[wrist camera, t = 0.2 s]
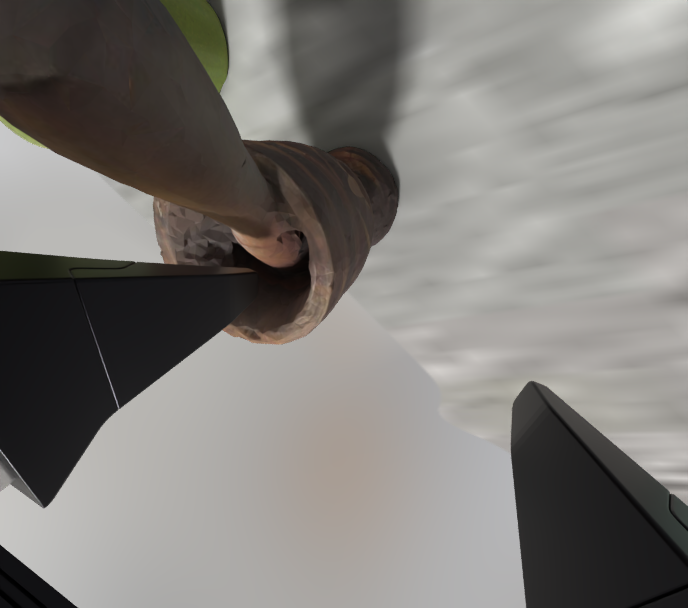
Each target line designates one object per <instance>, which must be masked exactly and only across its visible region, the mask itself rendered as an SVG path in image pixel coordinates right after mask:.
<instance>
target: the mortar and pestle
mask: <svg viewBox="0 0 688 608" xmlns="http://www.w3.org/2000/svg"><path fill="white" fill-rule="evenodd" d="M0 116H1V117H2V118H4V119H5V120H6V121H7V122H9V123H10V124H11V125H12V126H14V127H16V128H17V129H19V130H20V131H22V132H23V133H25V134H27V135H28V136H30V137H31V138H33V139H34V140H36V141H38V142H39V143H41V144H42V145H44V146H46V147H47V148H49V149H50V150H52V151H54V152H55V153H57V154H59V155H61V156H63V157H66V158H68V159H70V160H72V161H74V162H77V163H79V164H81V165H83V166H85V167H87V168H90V169H92V170H94V171H96V172H98V173H101V174H103V175H105V176H107V177H109V178H111V179H113V180H115V181H117V182H120V183H122V184H125V185H128V186H131V187H133V188H135V189H138V190H140V191H142V192H144V193H146V194H149V195H152V196H154V201H153V210H154V223H155V230H156V236H157V241H158V245H159V246H160V249H161V255H162V257H163V260H164V263H165V264H180V265H198V266H215V267H233V268H248V269H251V270H253V271H256V272H257V273H258V275H259V281H258V295H257V297H256V299H255V300H254V301H253V302H252V303H251V304H250V305H249V306H248V307H247V308H246V309H245V310H244V311H243V312H242V313H241V314H240V315H239V316H238V317H237V318H236V319H235V320H234V321H232V322H231V323H230V324H229V325H228V326H227V327H225V328H224V329H223V331H225V332H227V333H228V334H230V335H231V336H233V337H241V338H243V339H246V340H249V341H250V342H252V343H261V344H285V343H288V342H292V341H294V340H297V339H299V338H302V337H304V336H306V335H307V334H309V333H310V332H311V331H312V330H313V329H314V328H315V327H316V326H318V325H319V324H320V323H321V322H322V321H323V320H324V319H325V318H326V317H327V315H328V314H329V313H330V312H331V311H332V309H333V308H334V306H335V305H336V304H337V302H338V301H339V300H340V298H341V297H342V295H343V294H344V293H345V292H346V291H347V290H348V289H349V287H350V286H351V285H352V284H353V283H354V281H355V280H356V278H357V277H358V275H359V273H360V272H361V270H362V268H363V266H364V264H365V261H366V259H367V256H368V254H369V251H370V248H371V246H373V245H375V244H377V243H378V242H379V241H380V240H381V239H382V238H383V237H384V236H385V235H386V234H387V233H388V232H389V230H390V228H391V226H392V224H393V221H394V219H395V216H396V213H397V207H398V203H397V202H398V191H397V187H396V185H395V182H394V179H393V177H392V175H391V174H390V172H389V170H388V169H387V168H386V166H385V165H384V164H382V163H381V162H380V161H379V160H378V159H377V158H376V157H375V156H373V155H372V154H370V153H369V152H367V151H365V150H362V149H359V148H355V147H343V148H338V149H335V150H332V151H330V152H328V153H327V152H325V151H323V150H321V149H318V148H316V147H312V146H308V145H305V144H301V143H296V142H291V141H270V140H268V141H252V140H242V139H241V137H240V134H239V131H238V129H237V127H236V125H235V123H234V121H233V118H232V116H231V114H230V112H229V110H228V108H227V106H226V104H225V102H224V100H223V99H222V97H221V95H220V94H219V92H218V90H217V88H216V87H215V85H214V83H213V82H212V80H211V78H210V76H209V75H208V73H207V71H206V70H205V68H204V67H203V65H202V63H201V62H200V60H199V58H198V57H197V55H196V54H195V52H194V50H193V49H192V47H191V46H190V44H189V42H188V41H187V39H186V37H185V36H184V34H183V33H182V31H181V30H180V28H179V27H178V25H177V24H176V22H175V21H174V19H173V18H172V16H171V15H170V13H169V12H168V10H167V9H166V7H165V6H164V5H163V4H162V3H161V1H160V0H0Z"/></svg>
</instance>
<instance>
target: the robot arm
mask: <svg viewBox="0 0 688 608" xmlns="http://www.w3.org/2000/svg"><path fill="white" fill-rule="evenodd" d="M258 281H259V275H258V273H257V272H256V271H253V270H251V269H248V268H233V267H215V266H198V265H180V264H161V263H144V262H137V263H135V262H133V261H117V260H102V259H89V258H77V257H65V256H53V255H42V254H30V253H19V252H8V251H0V491H1V490H3V489H4V488H5V487H7V486H8V485H9V484H11V485H12V486H14V487H15V488H17V489H18V490H20V492H22V493H23V494H25V495H26V496H27V497H29V498H30V499H31V500H33V501H34V502H35V503H37V504H38V505H40V506H41V507H42V508H45V507H47V506H48V505H49V504H50V503H51V502H52V500H53V499H54V498H55V496H56V495H57V493H58V492H59V490H60V488H61V487H62V485H63V484H64V482H65V481H66V479H67V478H68V476H69V475H70V473H71V472H72V470H73V468H74V467H75V466H76V464H77V462H78V461H79V460H80V458H81V456H82V455H83V453H84V452H85V450H86V449H87V447H88V446H89V444H90V443H91V441H92V440H93V438H94V437H95V435H96V434H97V432H98V431H99V429H100V428H101V426H102V425H103V424H104V423H105V422H106V421H107V420H108V418H109V417H111V416H112V415H113V414H114V413H115V412H116V411H118V409H120V408H121V407H123V406H124V405H125V404H127V403H128V402H129V401H131V400H132V399H133V398H134V397H136V396H137V395H138V394H140V393H141V392H142V391H144V390H145V389H146V388H147V387H149V386H150V385H151V384H153V383H154V382H155V381H156V380H158V379H159V378H160V377H162V376H163V375H164V374H166V373H167V372H168V371H170V370H171V369H172V368H173V367H175V366H176V365H177V364H179V363H180V362H181V361H183V360H184V359H185V358H186V357H188V356H189V355H190V354H192V353H193V352H194V351H195V350H197V349H198V348H199V347H201V346H202V345H203V344H205V343H206V342H207V341H209V340H210V339H211V338H212V337H214V336H215V335H216V334H217V333H219V332H220V331H221V330H223V329H224V328H225V327H227V326H228V325H229V324H230V323H231V322H232V321H234V320H235V319H236V318H237V317H238V316H239V315H240V314H241V313H242V312H243V311H244V310H245V309H246V308H247V307H248V306H249V305H250V304H251V303H252V302H253V301H254V300H255V299H256V297H257V295H258ZM511 459H512V469H513V478H514V489H515V499H516V509H517V519H518V529H519V539H520V549H521V559H522V569H523V579H524V589H525V599H526V608H688V506H687V505H686V504H685V503H683V502H682V501H681V500H680V499H679V498H678V497H676V496H675V495H674V494H670V492H669V491H668V490H667V489H666V488H665V487H664V486H663V485H661V484H660V483H659V482H658V481H657V480H656V479H654V478H653V477H652V476H651V475H650V474H648V473H647V472H646V471H645V470H644V469H643V468H641V467H640V466H639V465H638V464H637V463H636V462H634V461H633V460H632V459H631V458H630V457H629V456H627V455H626V454H625V453H624V452H623V451H621V450H620V449H619V448H618V447H617V446H616V445H614V444H613V443H612V442H611V441H610V440H609V439H607V438H606V437H605V436H604V435H603V434H602V433H600V432H599V431H598V430H597V429H596V428H594V427H593V426H592V425H591V424H590V423H589V422H587V421H586V420H585V419H584V418H583V417H582V416H580V415H579V414H578V413H577V412H576V411H575V410H573V409H572V408H571V407H570V406H569V405H567V404H566V403H565V402H564V401H563V400H562V399H560V398H559V397H558V396H557V395H556V394H555V393H553V392H552V391H551V390H550V389H549V388H548V387H546V386H544V385H542V384H539V383H537V382H534V381H530V382H528V383H527V384H526V386H525V387H524V388H523V390H522V391H521V392H520V394H519V395H518V396H517V398H516V399H515V401H514V403H513V407H512V427H511ZM0 608H77V607H76V606H75V605H74V604H72V603H71V602H70V601H69V600H68V599H66V598H65V597H64V596H63V595H61V594H60V593H59V592H58V591H56V590H55V589H54V588H53V587H52V586H50V585H49V584H48V583H47V582H45V581H44V580H43V579H42V578H40V577H39V576H38V575H37V574H35V573H34V572H33V571H32V570H31V569H29V568H28V567H27V566H26V565H24V564H23V563H22V562H21V561H19V560H18V559H17V558H16V557H14V556H13V555H12V554H11V553H10V552H8V551H7V550H6V549H5V548H3V547H2V546H1V545H0Z"/></svg>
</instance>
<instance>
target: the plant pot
mask: <svg viewBox="0 0 688 608" xmlns="http://www.w3.org/2000/svg"><path fill="white" fill-rule="evenodd" d="M160 1H161V3H162V4H163V5H164V6H165V7H166V9H167V10H168V12H169V13H170V15H171V16H172V18H173V19H174V21H175V22H176V24H177V25H178V27H179V28H180V30H181V31H182V33H183V34H184V36H185V37H186V39H187V41H188V42H189V44H190V46H191V47H192V49H193V50H194V52H195V54H196V55H197V57H198V58H199V60H200V62H201V63H202V65H203V67H204V68H205V70H206V71H207V73H208V75H209V76H210V78H211V80H212V82H213V83H214V85H215V87H216V88H217V90H218V92H219V93H220V90H221V88H222V86H223V84H224V82H225V80H226V77H227V69H228V56H227V46H226V40H225V36H224V33H223V30H222V27H221V24H220V21H219V19H218V17H217V15H216V13H215V11H214V10H213V8H212V7H211V6H210V5H209V3H208V2H207V1H206V0H160ZM0 121H1V122H2V123H3V124H4V125H5V126H7V127H8V128H9V129H10V130H12V131H13V132H14V133H15V134H17V135H18V136H20V137H21V138H23V139H25V140H26V141H28V142H30V143H32V144H34V145H37V146H40V147H43V148H47V147H46V146H44V145H42V144H41V143H39V142H38V141H36V140H34V139H33V138H31V137H30V136H28V135H27V134H25V133H23V132H22V131H20V130H19V129H17V128H16V127H14V126H12V125H11V124H10V123H9V122H7V121H6V120H5V119H4V118H2V117H1V116H0ZM48 149H49V148H48Z"/></svg>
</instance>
